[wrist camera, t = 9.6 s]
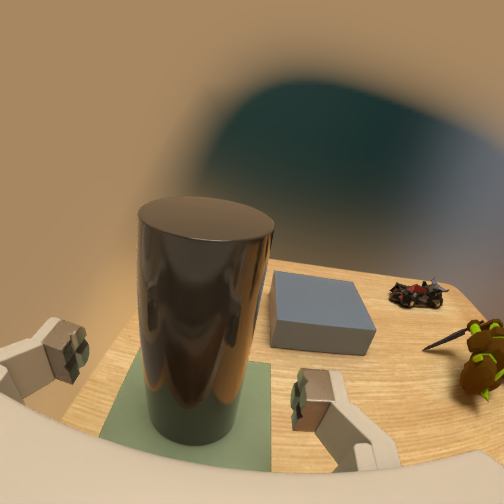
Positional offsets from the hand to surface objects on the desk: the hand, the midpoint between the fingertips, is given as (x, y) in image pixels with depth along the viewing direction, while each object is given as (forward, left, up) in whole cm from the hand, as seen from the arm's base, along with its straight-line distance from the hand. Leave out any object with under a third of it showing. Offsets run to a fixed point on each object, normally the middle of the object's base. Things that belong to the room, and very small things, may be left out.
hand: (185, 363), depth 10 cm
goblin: (+34, +15, -15) cm, 40 cm away
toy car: (+33, +35, -15) cm, 51 cm away
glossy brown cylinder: (0, +2, -5) cm, 5 cm away
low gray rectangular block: (+12, +26, -15) cm, 32 cm away
